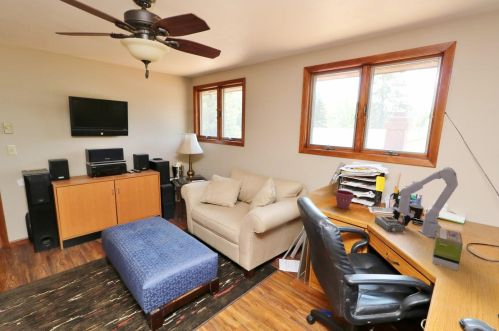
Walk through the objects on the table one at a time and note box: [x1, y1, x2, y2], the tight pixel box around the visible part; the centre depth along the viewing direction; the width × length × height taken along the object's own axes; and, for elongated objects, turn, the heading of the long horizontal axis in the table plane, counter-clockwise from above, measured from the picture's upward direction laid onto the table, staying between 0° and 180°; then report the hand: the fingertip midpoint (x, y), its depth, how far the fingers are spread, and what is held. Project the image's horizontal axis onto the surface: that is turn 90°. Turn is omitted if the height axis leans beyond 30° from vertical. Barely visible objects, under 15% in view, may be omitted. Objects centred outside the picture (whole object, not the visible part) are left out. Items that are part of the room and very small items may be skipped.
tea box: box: [431, 227, 464, 272], centre depth 118 cm, size 15×10×15 cm
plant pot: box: [334, 189, 355, 210], centre depth 193 cm, size 14×14×13 cm
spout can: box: [398, 215, 405, 227], centre depth 160 cm, size 4×4×7 cm
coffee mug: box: [409, 203, 425, 220], centre depth 174 cm, size 12×9×10 cm
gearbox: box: [374, 215, 405, 233], centre depth 157 cm, size 18×10×6 cm, turn 179°
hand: (401, 223), depth 160 cm, fingers open, 7 cm apart
